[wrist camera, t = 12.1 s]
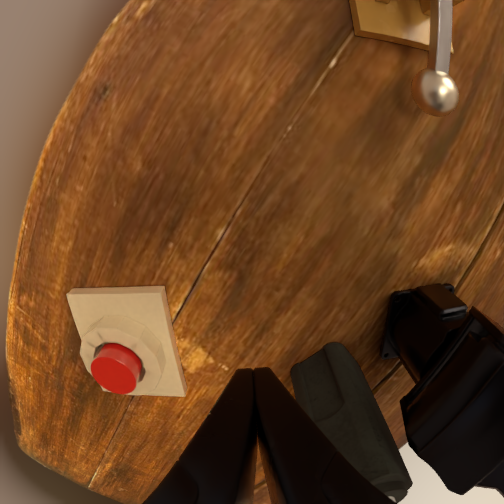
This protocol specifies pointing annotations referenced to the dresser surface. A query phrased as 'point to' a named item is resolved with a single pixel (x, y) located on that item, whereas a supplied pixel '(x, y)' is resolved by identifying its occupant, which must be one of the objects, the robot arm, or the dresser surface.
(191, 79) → the dresser surface
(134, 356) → the button
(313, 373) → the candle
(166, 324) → the button block
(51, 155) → the dresser surface
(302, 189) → the dresser surface
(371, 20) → the tap bracket
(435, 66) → the tap lever
